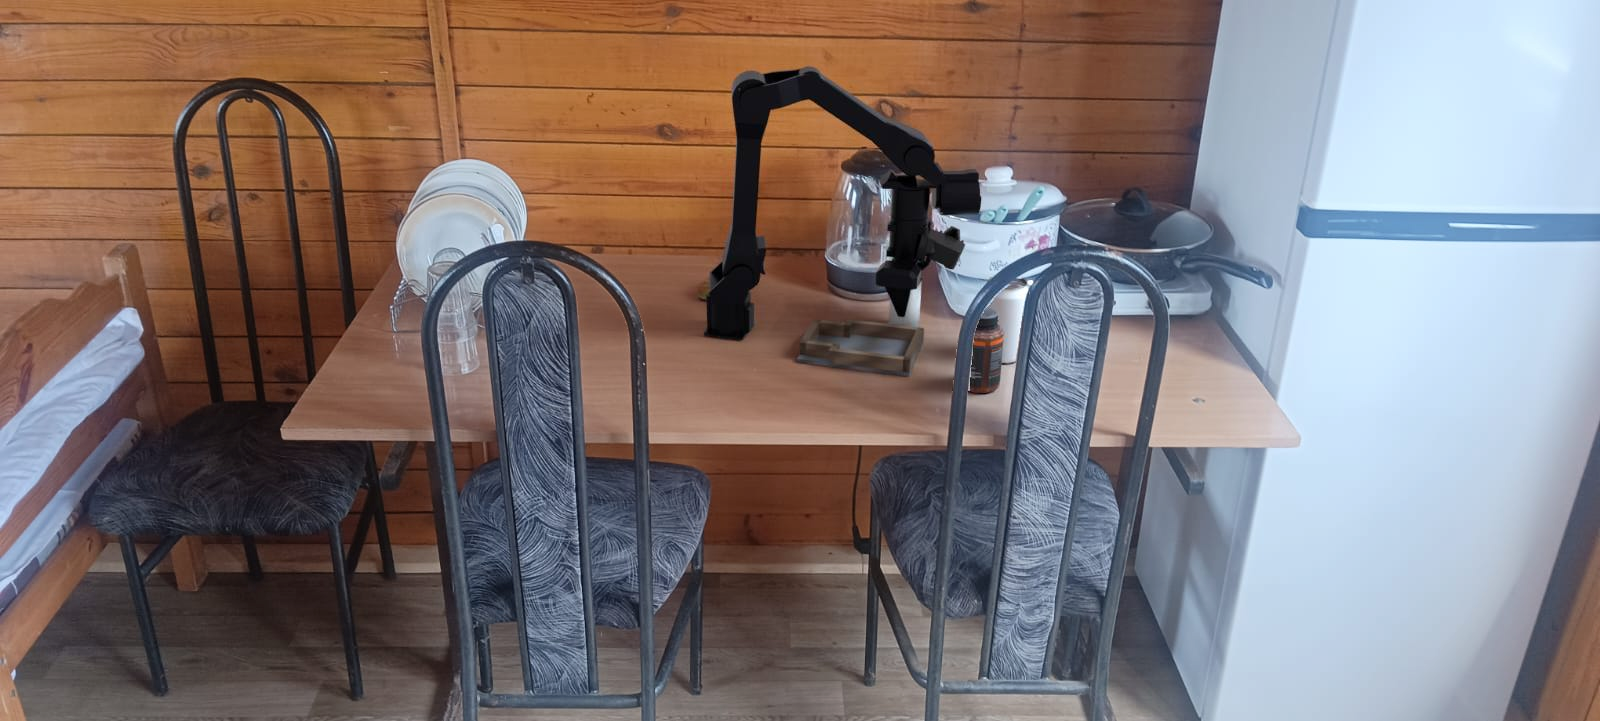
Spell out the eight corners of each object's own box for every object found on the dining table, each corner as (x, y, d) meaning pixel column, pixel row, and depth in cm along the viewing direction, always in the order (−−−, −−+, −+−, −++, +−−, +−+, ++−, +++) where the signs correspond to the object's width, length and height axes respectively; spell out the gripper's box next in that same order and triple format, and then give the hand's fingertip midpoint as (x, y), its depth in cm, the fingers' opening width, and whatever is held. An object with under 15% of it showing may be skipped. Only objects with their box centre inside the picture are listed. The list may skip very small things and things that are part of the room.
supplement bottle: (1003, 380, 165) (1010, 307, 161) (995, 397, 160) (1002, 323, 156) (962, 373, 167) (967, 301, 162) (953, 391, 162) (958, 317, 157)
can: (1022, 366, 169) (1030, 291, 164) (977, 362, 171) (984, 287, 165) (1023, 349, 175) (1031, 275, 170) (980, 344, 176) (986, 271, 171)
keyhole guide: (796, 362, 170) (797, 346, 169) (817, 330, 180) (817, 315, 179) (909, 376, 166) (910, 360, 165) (923, 343, 177) (924, 328, 175)
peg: (885, 332, 180) (887, 284, 177) (891, 320, 185) (893, 273, 181) (915, 335, 179) (918, 287, 176) (921, 323, 183) (923, 277, 180)
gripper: (953, 240, 164) (946, 339, 171) (970, 201, 180) (963, 294, 187) (876, 232, 166) (872, 331, 173) (900, 195, 183) (896, 287, 189)
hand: (904, 310), depth 181 cm, fingers closed on peg, 5 cm apart
